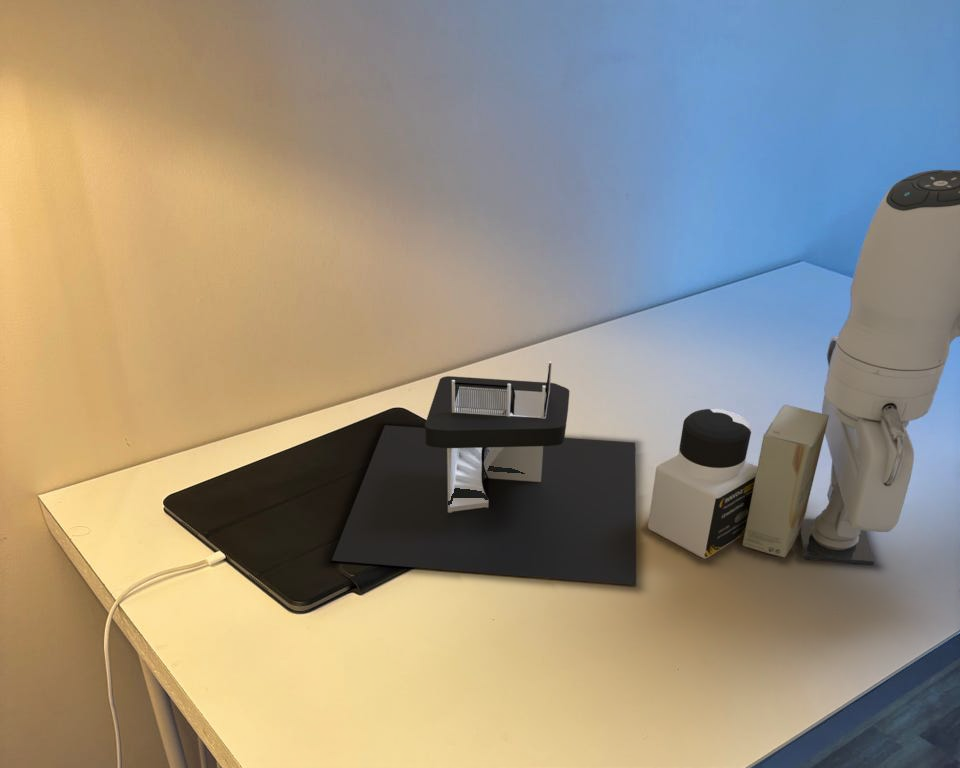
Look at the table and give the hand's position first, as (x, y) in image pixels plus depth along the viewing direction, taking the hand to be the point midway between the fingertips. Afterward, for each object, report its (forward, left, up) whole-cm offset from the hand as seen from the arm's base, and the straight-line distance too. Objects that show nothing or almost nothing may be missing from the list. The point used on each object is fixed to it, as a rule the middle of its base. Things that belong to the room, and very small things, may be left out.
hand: (840, 517), depth 93 cm
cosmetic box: (+6, 0, -3) cm, 6 cm away
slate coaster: (0, 0, -3) cm, 3 cm away
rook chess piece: (0, 0, -3) cm, 3 cm away
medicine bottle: (+13, 0, -3) cm, 13 cm away
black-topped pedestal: (+33, -3, -3) cm, 33 cm away
